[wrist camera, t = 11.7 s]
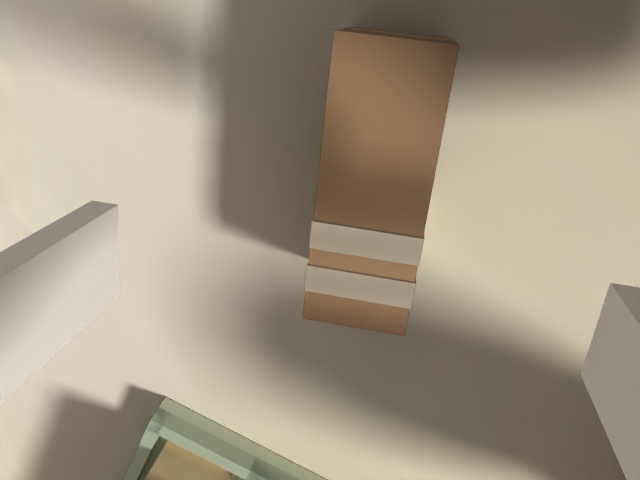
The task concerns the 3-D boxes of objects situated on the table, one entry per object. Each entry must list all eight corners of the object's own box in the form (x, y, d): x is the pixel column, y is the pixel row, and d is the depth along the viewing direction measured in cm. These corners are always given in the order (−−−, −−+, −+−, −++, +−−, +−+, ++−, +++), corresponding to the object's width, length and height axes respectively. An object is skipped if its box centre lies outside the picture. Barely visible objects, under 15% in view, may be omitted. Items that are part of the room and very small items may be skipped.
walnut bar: (351, 26, 27) (332, 30, 21) (452, 39, 26) (460, 45, 20) (323, 263, 31) (301, 318, 25) (408, 278, 31) (405, 337, 25)
